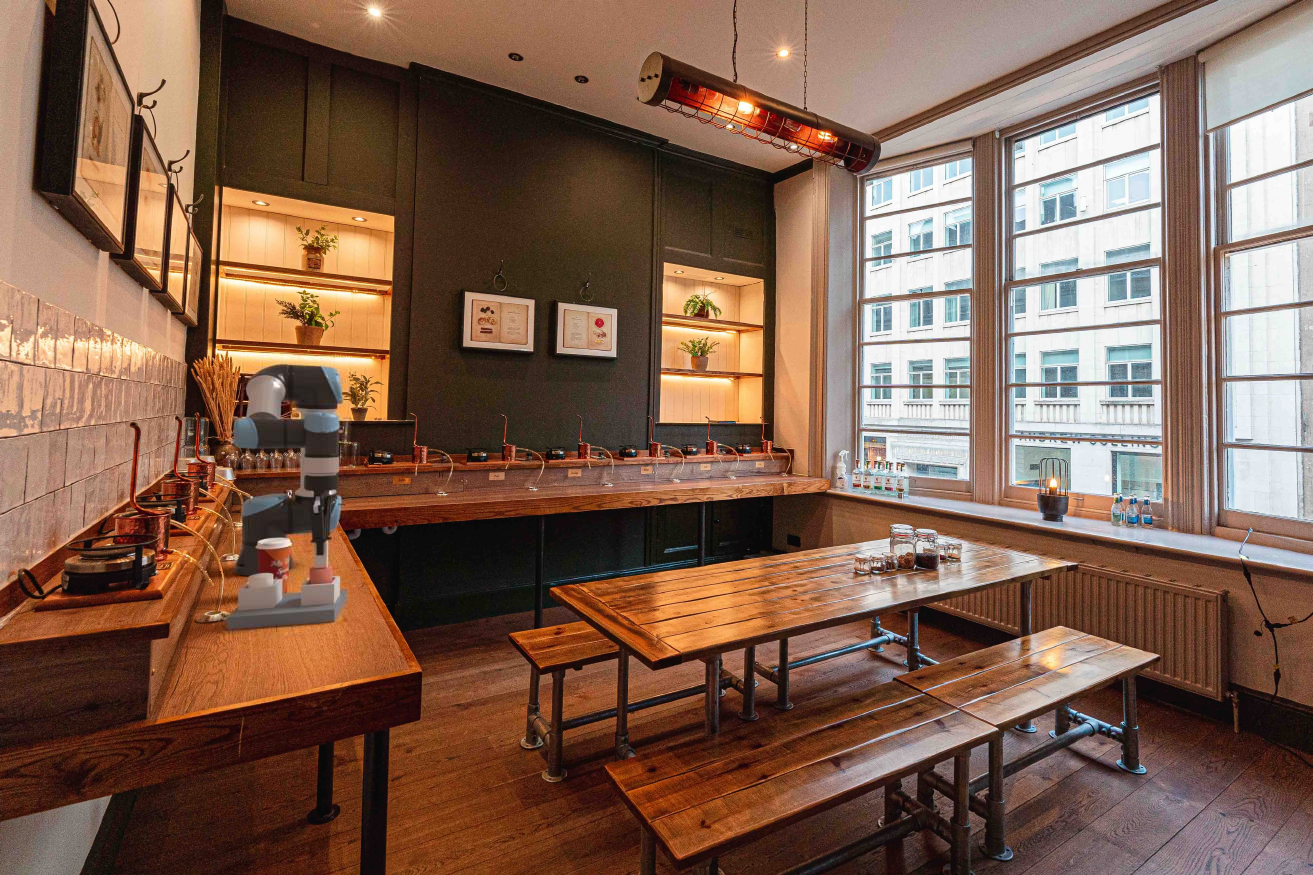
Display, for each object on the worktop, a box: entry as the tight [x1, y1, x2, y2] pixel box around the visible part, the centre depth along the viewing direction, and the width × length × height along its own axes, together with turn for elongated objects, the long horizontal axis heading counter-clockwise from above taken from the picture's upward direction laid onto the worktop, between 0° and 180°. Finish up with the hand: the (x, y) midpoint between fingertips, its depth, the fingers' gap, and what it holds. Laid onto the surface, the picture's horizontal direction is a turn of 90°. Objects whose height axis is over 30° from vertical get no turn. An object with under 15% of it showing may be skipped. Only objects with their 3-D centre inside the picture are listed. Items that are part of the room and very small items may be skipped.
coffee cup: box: [256, 537, 293, 594], centre depth 157 cm, size 8×8×15 cm
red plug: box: [309, 564, 334, 585], centre depth 145 cm, size 5×5×7 cm
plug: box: [247, 573, 273, 588], centre depth 141 cm, size 5×5×7 cm
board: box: [226, 575, 348, 631], centre depth 143 cm, size 16×22×8 cm
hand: (321, 566), depth 144 cm, fingers closed
